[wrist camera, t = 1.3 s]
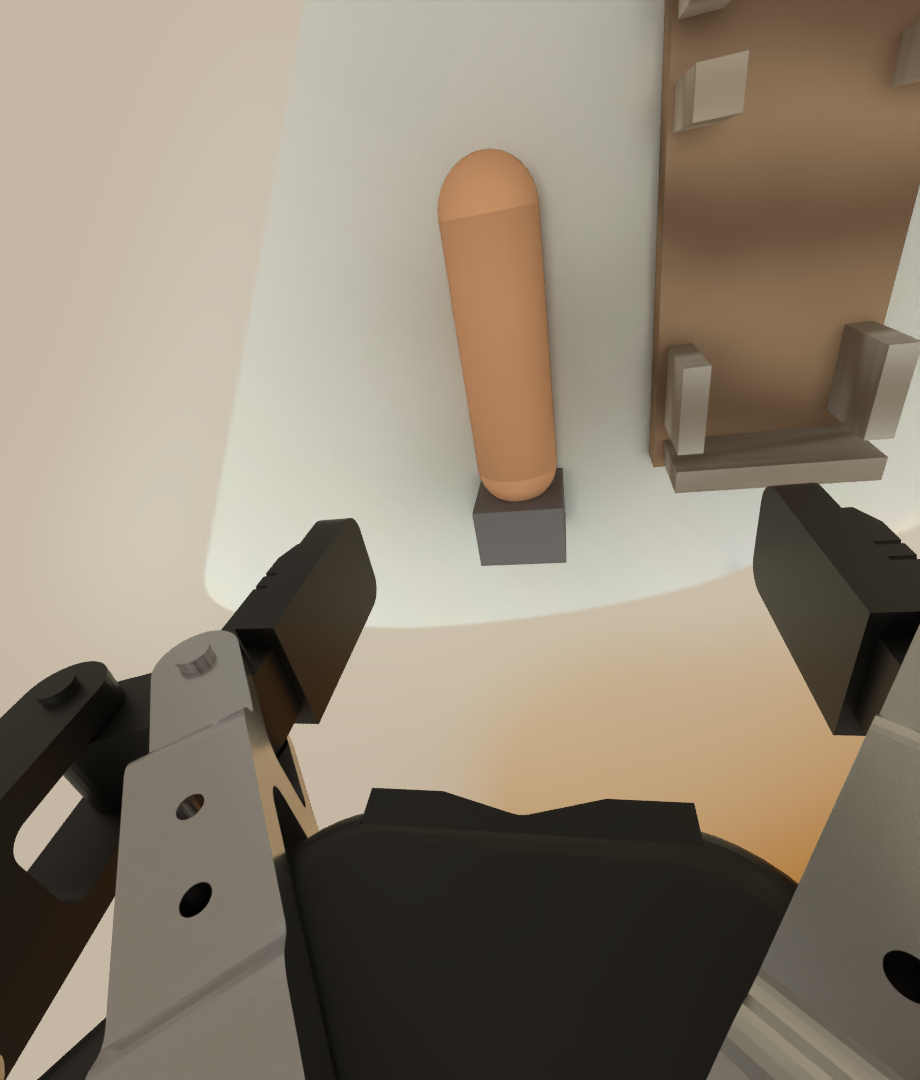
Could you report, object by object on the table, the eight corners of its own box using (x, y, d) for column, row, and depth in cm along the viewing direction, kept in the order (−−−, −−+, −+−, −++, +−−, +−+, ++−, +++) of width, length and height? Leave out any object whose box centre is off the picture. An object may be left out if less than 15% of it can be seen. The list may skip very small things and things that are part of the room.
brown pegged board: (671, -175, 16) (709, -301, 12) (1010, -288, 14) (1196, -486, 10) (649, 454, 27) (665, 501, 23) (836, 439, 25) (889, 487, 21)
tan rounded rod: (435, 164, 22) (410, 158, 18) (541, 141, 21) (537, 130, 17) (490, 522, 31) (481, 565, 27) (565, 517, 30) (566, 562, 26)
